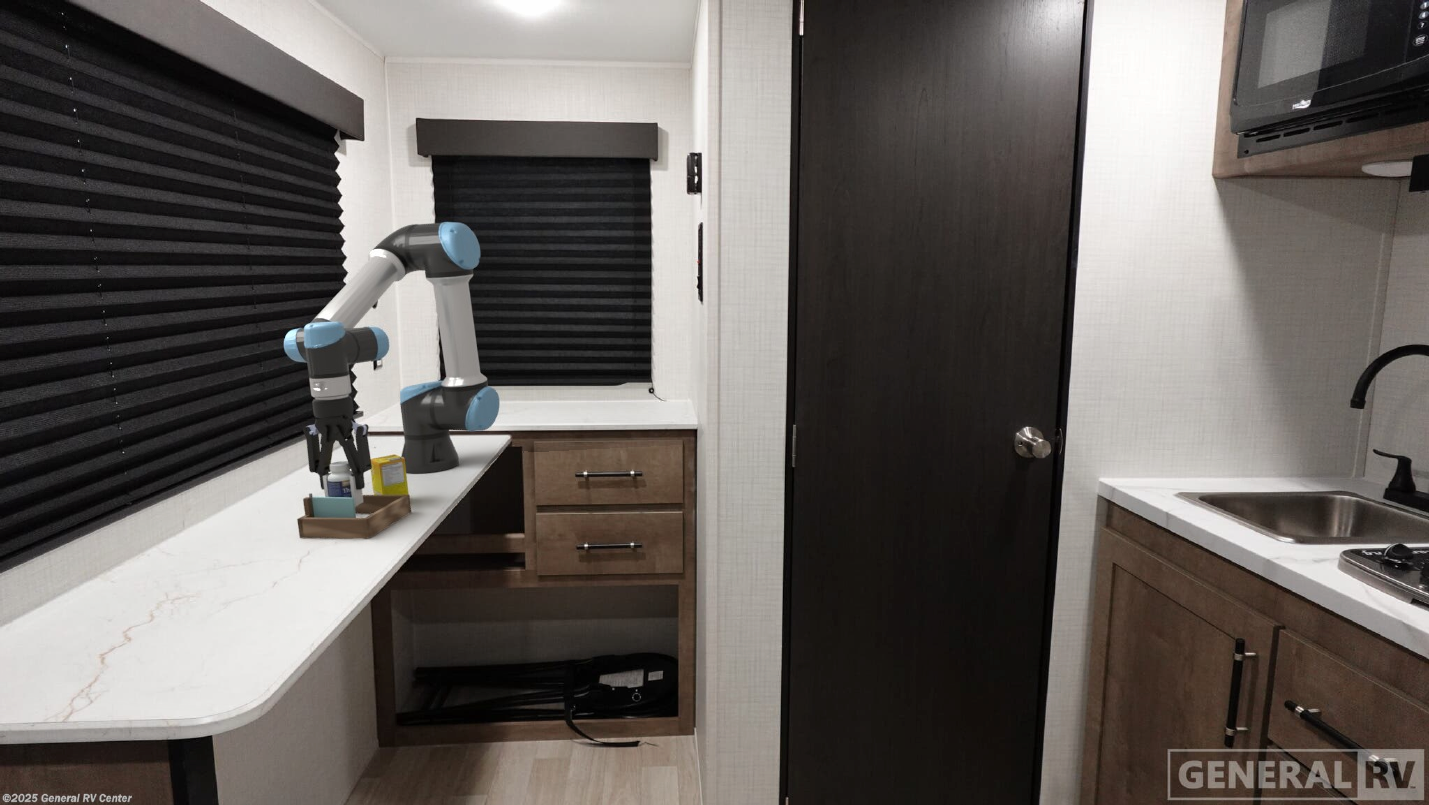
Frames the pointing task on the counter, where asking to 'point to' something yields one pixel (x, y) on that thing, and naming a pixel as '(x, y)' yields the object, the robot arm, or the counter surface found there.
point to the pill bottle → (340, 479)
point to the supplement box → (389, 475)
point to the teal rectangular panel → (333, 507)
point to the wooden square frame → (382, 516)
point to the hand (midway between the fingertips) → (344, 503)
